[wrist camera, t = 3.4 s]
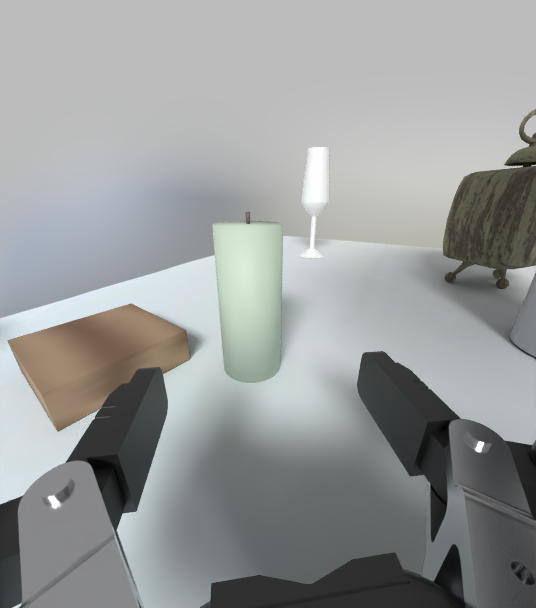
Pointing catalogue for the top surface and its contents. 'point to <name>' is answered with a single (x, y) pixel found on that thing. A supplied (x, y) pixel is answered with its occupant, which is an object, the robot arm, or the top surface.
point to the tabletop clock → (496, 216)
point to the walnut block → (95, 358)
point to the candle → (249, 296)
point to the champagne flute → (315, 191)
